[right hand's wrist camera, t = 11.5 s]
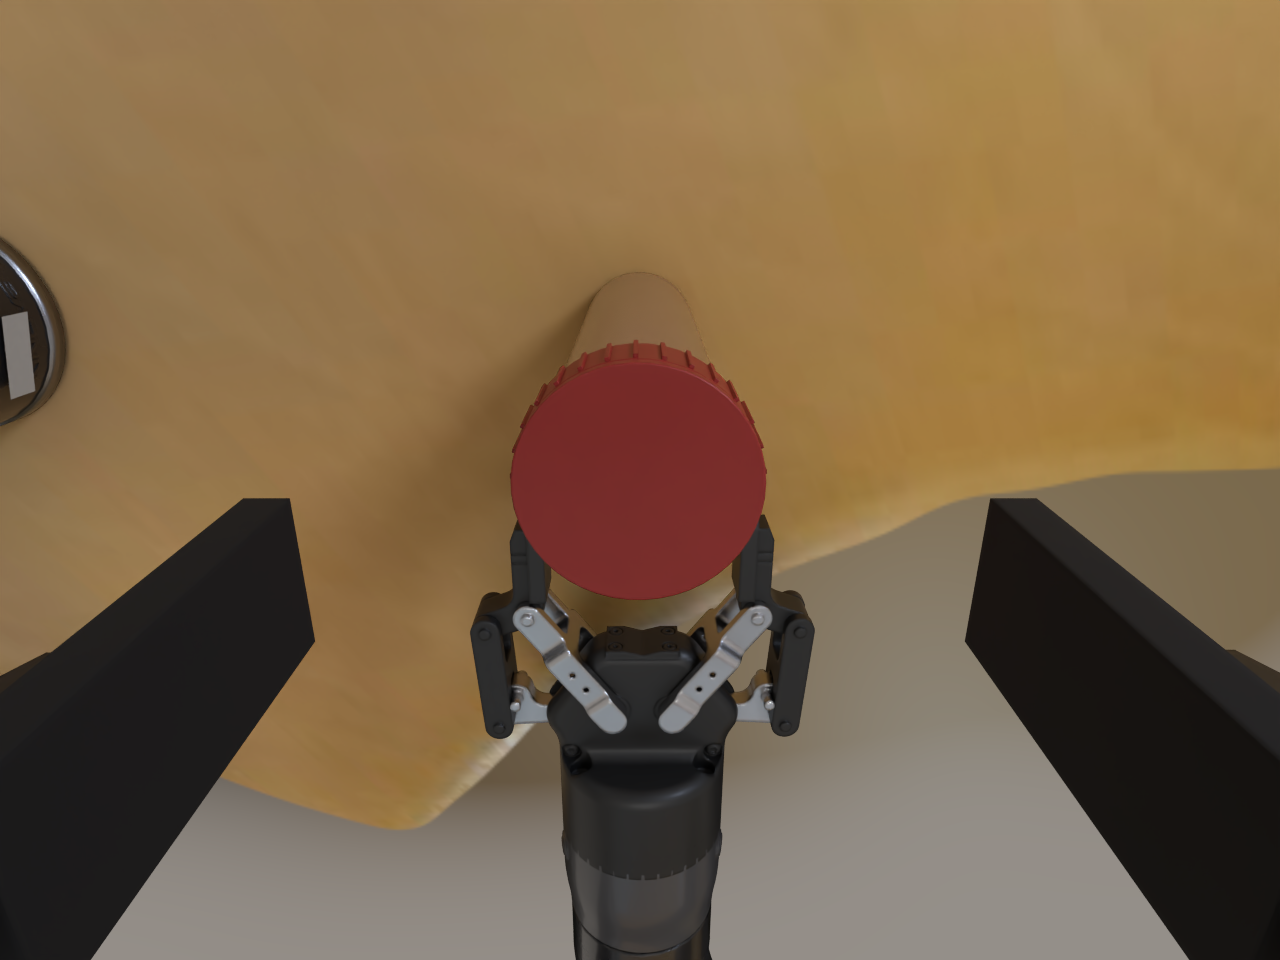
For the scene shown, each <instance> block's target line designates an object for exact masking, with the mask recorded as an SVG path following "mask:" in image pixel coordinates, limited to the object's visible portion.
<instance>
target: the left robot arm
mask: <svg viewBox="0 0 1280 960" xmlns="http://www.w3.org/2000/svg"><path fill="white" fill-rule="evenodd" d="M64 362H65V339H64V332H63V327H62V323H61V320H60V317H59V313H58V311H57V308H56V306H55V304H54V301H53V299H52V298H51V296H50V294H49V292H48V290H47V289H46V287H45V285H44V284H43V282H42V281H41V279H40V278H39V277H38V275H37V274H36V272H35V271H34V270H33V269H32V268H31V267H30V265H29V264H28V263H27V262H26V261H25V260H24V259H23V258H22V257H21V256H20V255H19V254H18V253H17V252H16V251H15V250H14V249H12V248H11V247H10V246H9V245H8V244H6V243H5V242H4V241H2V240H1V239H0V426H1V425H4V424H7V423H10V422H12V421H15V420H17V419H20V418H23V417H25V416H27V415H29V414H31V413H32V412H34V411H35V410H37V409H38V408H40V407H41V406H42V405H43V404H44V403H45V402H46V401H47V400H48V399H49V398H50V396H51V395H52V394H53V392H54V391H55V389H56V387H57V385H58V383H59V381H60V378H61V375H62V372H63V367H64ZM773 552H774V538H773V535H772V533H771V530H770V527H769V525H768V522H767V520H766V517H765V515H761V516H760V518H759V521H758V523H757V526H756V528H755V530H754V532H753V534H752V536H751V538H750V539H749V541H748V543H747V544H746V545H745V547H744V548H743V550H742V551H741V552H740V554H739V555H738V556H737V557H736V558H735V559H734V560H733V561H732V579H733V583H734V587H735V588H734V589H733V590H732V591H731V592H730V593H729V594H728V596H727V597H726V598H725V599H724V600H723V601H722V602H721V603H720V604H719V605H718V607H717V608H715V609H709V610H708V611H707V612H706V613H705V614H704V615H703V616H702V617H701V618H700V619H699V621H698V622H697V623H696V624H695V625H694V626H693V627H692V628H691V629H690V631H689V632H688V633H687V634H684V633H682V632H679V631H677V626H658V627H654V628H650V629H646V630H638V629H634V628H629V627H625V626H607V632H603V633H601V634H598V635H597V634H596V632H595V631H594V630H593V629H592V628H591V627H590V626H589V625H588V624H587V623H586V621H585V620H584V619H583V618H582V617H581V616H580V615H579V614H578V613H577V612H576V611H575V610H573V609H568V608H567V607H566V606H565V605H564V604H563V603H562V602H561V601H560V600H559V599H558V597H557V596H556V595H555V594H554V593H553V592H552V591H551V590H550V589H549V587H550V582H551V567H550V566H549V565H548V564H547V563H545V562H544V560H543V559H542V558H541V557H540V556H539V555H538V554H537V552H536V551H535V550H534V549H533V547H532V546H531V544H530V543H529V541H528V540H527V538H526V537H525V535H524V533H523V531H522V529H521V527H520V524H519V522H518V520H517V523H516V525H515V528H514V531H513V534H512V537H511V540H510V553H511V568H512V583H513V589H512V590H510V591H508V592H506V593H503V594H500V593H497V592H491V593H488V594H486V595H484V597H483V598H482V600H481V603H480V605H479V608H478V611H477V614H476V616H475V619H474V622H473V625H472V628H471V631H470V635H471V642H472V648H473V654H474V660H475V666H476V672H477V679H478V685H479V691H480V697H481V703H482V709H483V716H484V722H485V728H486V731H487V733H488V734H489V735H490V736H492V737H493V738H497V739H503V738H507V737H508V736H510V735H511V733H512V731H513V728H514V724H526V723H544V722H549V724H550V726H551V727H552V729H553V730H554V731H555V733H556V734H557V736H558V739H559V742H560V760H561V782H562V804H563V824H564V830H563V833H562V847H563V853H564V855H565V863H566V871H567V876H568V881H569V885H570V889H571V895H572V907H573V929H574V930H573V933H574V949H575V957H576V960H712V958H711V955H710V951H709V940H710V918H711V898H712V892H713V888H714V884H715V880H716V875H717V869H718V859H719V856H720V852H721V845H722V833H721V829H720V823H721V803H722V783H723V763H724V744H725V739H726V736H727V734H728V732H729V731H730V729H731V728H732V727H733V725H734V724H735V722H736V721H742V722H765V723H771V727H772V730H773V732H774V733H775V734H777V735H779V736H783V737H785V736H790V735H792V734H794V733H795V732H796V731H797V730H798V727H799V723H800V717H801V710H802V704H803V698H804V693H805V687H806V680H807V674H808V668H809V662H810V657H811V651H812V644H813V639H814V632H815V629H814V626H813V623H812V621H811V619H810V618H809V616H808V614H807V611H806V609H805V604H804V601H803V599H802V597H801V595H800V594H799V593H798V592H796V591H792V590H788V591H784V592H780V591H777V590H774V589H772V588H771V580H772V566H773ZM766 629H768V630H771V638H770V645H769V652H768V659H767V666H766V671H765V670H763V669H760V670H758V671H757V672H756V675H755V676H754V677H753V678H752V679H751V682H750V685H749V686H748V687H747V688H746V689H745V690H743V691H740V692H734V689H733V687H732V686H731V684H730V683H729V682H728V680H727V679H728V678H729V677H730V676H731V675H732V674H733V672H734V671H735V670H736V669H737V668H738V667H739V665H740V663H741V660H742V656H743V654H744V652H745V651H746V650H747V649H748V648H749V647H750V646H751V645H752V644H753V643H754V642H755V641H756V640H757V639H758V637H759V636H760V635H761V634H762V633H763V632H764V631H765V630H766ZM518 630H519V631H520V632H521V633H522V634H523V635H524V636H525V637H526V638H527V639H528V640H529V642H530V643H531V644H532V645H533V646H534V647H535V648H536V649H537V650H538V651H539V652H540V653H541V655H542V657H543V660H544V663H545V665H546V667H547V668H548V670H549V671H550V672H551V673H552V674H553V675H554V676H555V677H556V678H557V679H558V680H557V681H556V682H555V683H554V685H553V686H552V688H551V690H550V693H544V692H541V691H539V690H538V689H536V687H535V686H534V684H533V681H532V679H531V678H530V677H529V676H528V674H527V672H525V671H519V672H518V671H517V664H516V657H515V650H514V643H513V636H512V632H515V631H518Z"/></svg>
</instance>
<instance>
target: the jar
mask: <svg viewBox="0 0 1280 960" xmlns="http://www.w3.org/2000/svg"><path fill="white" fill-rule="evenodd" d="M634 340H638V343H649V344H656V345H660V343H661V342H663V343H665V345H666V346H667V347H670V348H674V349H677V350H680V351H683V352H686V350H689V351H691V354H692V356H694V357H696V358H697V359H699V360H701V361H702V362H704V363H705V364H707V365H708V364H709V363H711V362H710V360H709V357H708V354H707V352H706V349H705V347H704V344H703V342H702V339H701V336H700V334H699V331H698V329H697V326H696V323H695V321H694V318H693V316H692V313H691V311H690V308H689V305H688V303H687V301H686V299H685V298H684V296H683V295H682V293H681V292H680V291H679V290H678V289H677V288H676V287H675V286H674V285H673V284H672V283H670V282H669V281H667V280H666V279H664V278H662V277H659V276H657V275H654V274H649V273H638V272H636V273H629V274H625V275H622V276H619V277H617V278H615V279H613V280H611V281H609V282H608V283H607V284H606V285H604V286H603V287H602V288H601V289H600V290H599V291H598V293H597V294H596V295H595V297H594V298H593V300H592V302H591V304H590V307H589V309H588V312H587V314H586V317H585V319H584V322H583V324H582V327H581V329H580V332H579V334H578V337H577V339H576V342H575V344H574V347H573V349H572V352H571V354H570V357H569V359H568V362H567V364H566V367H567V366H569V365H570V364H571V363H573V362H574V361H576V360H578V359H580V358H581V355H582V353H584V352H586V353H587V354H589V353H592V352H595V351H597V350H600V349H603V348H606V346H607V344H609V343H612V346H615V345H621V344H630V343H633V342H634ZM566 367H565V368H566Z"/></svg>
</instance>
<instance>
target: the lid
mask: <svg viewBox="0 0 1280 960" xmlns="http://www.w3.org/2000/svg"><path fill="white" fill-rule="evenodd" d="M754 423H755V422H754V420H753V418H752V416H751V414H750V412H749V410H748V408H747V405H746V403H745V402H744V401H742V402H740V400H739V397H738V395H737V393H736V391H735V389H734V386H733V384H732V382H731V381H730V380H728V381H727V382H726V381H725V380H724V379H723V378H722V377H721V376H720V375H719V374H718V373H717V372H716V371H715V368H714V366H713V364H711V363H709V364H708V365H707V364H705V363H704V362H702V361H701V360H699V359H697V358H696V357H694V356H692V354H691V351H689V350H686V352H683V351H680V350H677V349H674V348H670V347H667V346H666V345H665V343H663V342H661V343H660V345H656V344H649V343H638V340H634V342H633V343H630V344H621V345H615V346H612V343H609V344H607V346H606V348H603V349H600V350H597V351H595V352H592V353H589V354H587V353H586V352H584V353H582V355H581V358H580V359H578V360H576V361H574V362H573V363H571V364H570V365H569V366H567V367H566V368H565V367H564V366H562V367H560V369H559V371H558V374H557V376H556V377H555V378H554V379H553V380H552V381H551V382H550V383H549V384H548V385H546V384H544V385H543V386H542V388H541V390H540V392H539V394H538V396H537V398H536V400H535V402H534V406H533V405H530V407H529V409H528V411H527V413H526V415H525V418H524V420H523V422H522V424H521V426H520V428H522V430H521V432H520V434H519V436H518V439H517V441H516V443H515V445H514V447H513V450H512V453H514V456H513V460H512V468H511V473H510V479H511V495H512V500H513V506H514V510H515V513H516V516H517V519H518V522H519V524H520V527H521V529H522V531H523V533H524V535H525V537H526V538H527V540H528V541H529V543H530V544H531V546H532V547H533V549H534V550H535V551H536V552H537V554H538V555H539V556H540V557H541V558H542V559H543V560H544V562H545V563H547V564H548V565H549V566H550V567H551V568H552V569H553V570H554V571H556V572H557V573H558V574H560V575H561V576H563V577H564V578H566V579H567V580H568V581H570V582H572V583H574V584H576V585H578V586H580V587H582V588H584V589H586V590H589V591H592V592H594V593H597V594H601V595H605V596H609V597H612V598H620V599H627V600H648V599H658V598H664V597H668V596H673V595H676V594H679V593H682V592H685V591H688V590H691V589H693V588H695V587H697V586H699V585H701V584H703V583H705V582H706V581H708V580H710V579H711V578H713V577H714V576H716V575H717V574H719V573H720V572H721V571H722V570H723V569H725V568H726V567H727V566H728V565H729V564H730V563H731V562H732V561H733V560H734V559H735V558H736V557H737V556H738V555H739V554H740V552H741V551H742V550H743V548H744V547H745V545H746V544H747V543H748V541H749V539H750V538H751V536H752V534H753V532H754V530H755V528H756V526H757V523H758V521H759V518H760V516H761V513H762V508H763V504H764V500H765V490H766V474H767V470H766V467H765V463H764V458H763V453H762V450H761V449H762V448H764V447H763V443H762V441H761V439H760V437H759V435H758V433H757V430H756V428H755V426H754Z"/></svg>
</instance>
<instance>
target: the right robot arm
mask: <svg viewBox="0 0 1280 960" xmlns="http://www.w3.org/2000/svg"><path fill="white" fill-rule="evenodd" d="M314 642H315V638H314V632H313V627H312V621H311V615H310V610H309V604H308V599H307V593H306V587H305V582H304V576H303V571H302V565H301V559H300V554H299V548H298V542H297V537H296V531H295V526H294V520H293V514H292V509H291V503H290V498H243V499H242V500H241V501H240V502H238V503H237V504H236V505H235V506H233V507H232V508H231V509H230V510H228V511H227V512H226V513H225V514H223V515H222V516H221V517H220V518H218V519H217V520H216V521H215V522H213V523H212V524H211V525H210V526H208V527H207V528H206V529H205V530H203V531H202V532H201V533H200V534H198V535H197V536H196V537H195V538H193V539H192V540H191V541H190V542H188V543H187V544H186V545H185V546H183V547H182V548H181V549H180V550H178V551H177V552H176V553H175V554H173V555H172V556H171V557H170V558H168V559H167V560H166V561H165V562H163V563H162V564H161V565H160V566H159V567H157V568H156V569H155V570H154V571H152V572H151V573H150V574H149V575H147V576H146V577H145V578H144V579H142V580H141V581H140V582H139V583H137V584H136V585H135V586H134V587H132V588H131V589H130V590H129V591H127V592H126V593H125V594H124V595H122V596H121V597H120V598H119V599H117V600H116V601H115V602H114V603H112V604H111V605H110V606H109V607H107V608H106V609H105V610H104V611H102V612H101V613H100V614H99V615H97V616H96V617H95V618H94V619H92V620H91V621H90V622H89V623H87V624H86V625H85V626H84V627H82V628H81V629H80V630H79V631H77V632H76V633H75V634H74V635H72V636H71V637H70V638H69V639H67V640H66V641H65V642H64V643H63V644H61V645H60V646H59V647H58V648H56V649H55V650H54V651H53V652H51V653H44V654H43V655H41V656H39V657H37V658H35V659H33V660H31V661H29V662H27V663H25V664H23V665H21V666H19V667H17V668H15V669H13V670H11V671H9V672H7V673H5V674H3V675H1V676H0V960H91V959H92V957H93V956H94V954H95V953H96V952H97V950H98V949H99V947H100V946H101V944H102V943H103V942H104V940H105V939H106V937H107V936H108V934H109V933H110V932H111V930H112V929H113V927H114V926H115V925H116V923H117V922H118V920H119V919H120V917H121V916H122V915H123V913H124V912H125V910H126V909H127V907H128V906H129V905H130V903H131V902H132V900H133V899H134V898H135V896H136V895H137V893H138V892H139V890H140V889H141V888H142V886H143V885H144V883H145V882H146V881H147V879H148V878H149V876H150V875H151V873H152V872H153V871H154V869H155V868H156V866H157V865H158V864H159V862H160V861H161V859H162V858H163V856H164V855H165V854H166V852H167V851H168V849H169V848H170V846H171V845H172V844H173V842H174V841H175V839H176V838H177V837H178V835H179V834H180V832H181V831H182V829H183V828H184V827H185V825H186V824H187V822H188V821H189V820H190V818H191V817H192V815H193V814H194V812H195V811H196V810H197V808H198V807H199V805H200V804H201V803H202V801H203V800H204V798H205V797H206V795H207V794H208V793H209V791H210V790H211V788H212V787H213V785H214V784H215V783H216V781H217V780H218V778H219V777H220V776H221V774H222V773H223V771H224V770H225V768H226V767H227V766H228V764H229V763H230V761H231V760H232V759H233V757H234V756H235V754H236V753H237V751H238V750H239V749H240V747H241V746H242V744H243V743H244V742H245V740H246V739H247V737H248V736H249V734H250V733H251V732H252V730H253V729H254V727H255V726H256V724H257V723H258V722H259V720H260V719H261V717H262V716H263V715H264V713H265V712H266V710H267V709H268V707H269V706H270V705H271V703H272V702H273V700H274V699H275V698H276V696H277V695H278V693H279V692H280V690H281V689H282V688H283V686H284V685H285V683H286V682H287V681H288V679H289V678H290V676H291V675H292V673H293V672H294V671H295V669H296V668H297V666H298V665H299V663H300V662H301V661H302V659H303V658H304V656H305V655H306V654H307V652H308V651H309V649H310V648H311V646H312V645H313V644H314ZM965 642H966V644H967V645H968V646H969V648H970V649H971V651H972V652H973V654H974V655H975V656H976V658H977V659H978V661H979V662H980V663H981V665H982V666H983V668H984V669H985V671H986V672H987V673H988V675H989V676H990V678H991V679H992V681H993V682H994V683H995V685H996V686H997V688H998V689H999V690H1000V692H1001V693H1002V695H1003V696H1004V698H1005V699H1006V700H1007V702H1008V703H1009V705H1010V706H1011V707H1012V709H1013V710H1014V712H1015V713H1016V715H1017V716H1018V717H1019V719H1020V720H1021V722H1022V723H1023V725H1024V726H1025V727H1026V729H1027V730H1028V732H1029V733H1030V734H1031V736H1032V737H1033V739H1034V740H1035V742H1036V743H1037V744H1038V746H1039V747H1040V749H1041V750H1042V751H1043V753H1044V754H1045V756H1046V757H1047V759H1048V760H1049V761H1050V763H1051V764H1052V766H1053V767H1054V768H1055V770H1056V771H1057V773H1058V774H1059V776H1060V777H1061V778H1062V780H1063V781H1064V783H1065V784H1066V786H1067V787H1068V788H1069V790H1070V791H1071V793H1072V794H1073V795H1074V797H1075V798H1076V800H1077V801H1078V803H1079V804H1080V805H1081V807H1082V808H1083V810H1084V811H1085V812H1086V814H1087V815H1088V817H1089V818H1090V820H1091V821H1092V822H1093V824H1094V825H1095V827H1096V828H1097V829H1098V831H1099V832H1100V834H1101V835H1102V837H1103V838H1104V839H1105V841H1106V842H1107V844H1108V845H1109V846H1110V848H1111V849H1112V851H1113V852H1114V854H1115V855H1116V856H1117V858H1118V859H1119V861H1120V862H1121V864H1122V865H1123V866H1124V868H1125V869H1126V871H1127V872H1128V873H1129V875H1130V876H1131V878H1132V879H1133V880H1134V882H1135V883H1136V885H1137V886H1138V888H1139V889H1140V890H1141V892H1142V893H1143V895H1144V896H1145V898H1146V899H1147V900H1148V902H1149V903H1150V905H1151V906H1152V908H1153V909H1154V910H1155V912H1156V913H1157V915H1158V916H1159V917H1160V919H1161V920H1162V922H1163V923H1164V925H1165V926H1166V927H1167V929H1168V930H1169V932H1170V933H1171V934H1172V936H1173V937H1174V939H1175V940H1176V942H1177V943H1178V944H1179V946H1180V947H1181V949H1182V950H1183V952H1184V953H1185V954H1186V956H1187V957H1188V959H1189V960H1280V673H1279V672H1277V671H1275V670H1273V669H1271V668H1269V667H1267V666H1265V665H1263V664H1261V663H1260V662H1258V661H1256V660H1254V659H1252V658H1250V657H1248V656H1246V655H1244V654H1242V653H1240V652H1238V651H1236V650H1225V649H1224V648H1222V647H1221V646H1220V645H1219V644H1217V643H1216V642H1215V641H1214V640H1213V639H1211V638H1210V637H1209V636H1208V635H1206V634H1205V633H1204V632H1202V631H1201V630H1200V629H1199V628H1197V627H1196V626H1195V625H1194V624H1193V623H1191V622H1190V621H1189V620H1188V619H1186V618H1185V617H1184V616H1183V615H1181V614H1180V613H1179V612H1178V611H1176V610H1175V609H1174V608H1173V607H1171V606H1170V605H1169V604H1168V603H1166V602H1165V601H1164V600H1163V599H1161V598H1160V597H1159V596H1158V595H1156V594H1155V593H1154V592H1153V591H1151V590H1150V589H1149V588H1148V587H1146V586H1145V585H1144V584H1143V583H1141V582H1140V581H1139V580H1138V579H1136V578H1135V577H1134V576H1133V575H1131V574H1130V573H1129V572H1128V571H1126V570H1125V569H1124V568H1123V567H1121V566H1120V565H1119V564H1118V563H1116V562H1115V561H1114V560H1113V559H1112V558H1110V557H1109V556H1108V555H1106V554H1105V553H1104V552H1103V551H1102V550H1100V549H1099V548H1098V547H1097V546H1095V545H1094V544H1093V543H1092V542H1090V541H1089V540H1088V539H1087V538H1085V537H1084V536H1083V535H1082V534H1080V533H1079V532H1078V531H1077V530H1075V529H1074V528H1073V527H1072V526H1070V525H1069V524H1068V523H1067V522H1065V521H1064V520H1063V519H1062V518H1060V517H1059V516H1058V515H1057V514H1055V513H1054V512H1053V511H1052V510H1050V509H1049V508H1048V507H1047V506H1045V505H1044V504H1043V503H1042V502H1040V501H1039V500H1038V499H1036V498H991V499H990V503H989V509H988V515H987V520H986V525H985V531H984V537H983V542H982V548H981V554H980V559H979V565H978V571H977V576H976V582H975V587H974V593H973V599H972V604H971V610H970V615H969V621H968V627H967V633H966V638H965Z"/></svg>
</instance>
